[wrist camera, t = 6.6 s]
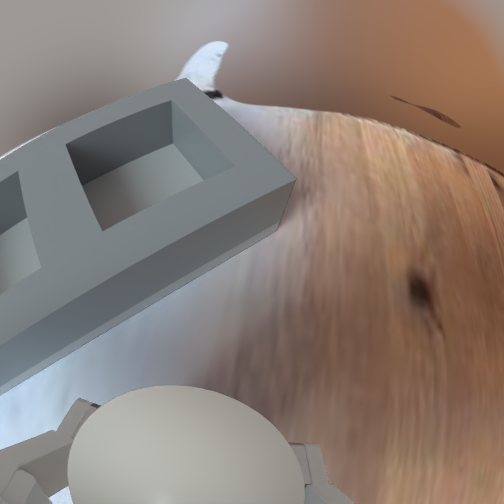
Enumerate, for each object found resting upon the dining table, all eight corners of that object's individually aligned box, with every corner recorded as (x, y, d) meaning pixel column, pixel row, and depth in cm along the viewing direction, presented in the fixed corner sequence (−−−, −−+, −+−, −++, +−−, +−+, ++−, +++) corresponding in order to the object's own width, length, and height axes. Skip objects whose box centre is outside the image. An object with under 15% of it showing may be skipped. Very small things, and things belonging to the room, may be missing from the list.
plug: (206, 379, 13) (209, 339, 5) (263, 451, 12) (347, 506, 4) (130, 425, 12) (29, 443, 4) (186, 499, 10) (168, 605, 2)
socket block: (185, 129, 21) (186, 77, 17) (275, 231, 18) (296, 179, 14) (-47, 258, 13) (-82, 223, 9) (-14, 403, 10) (-66, 392, 6)
